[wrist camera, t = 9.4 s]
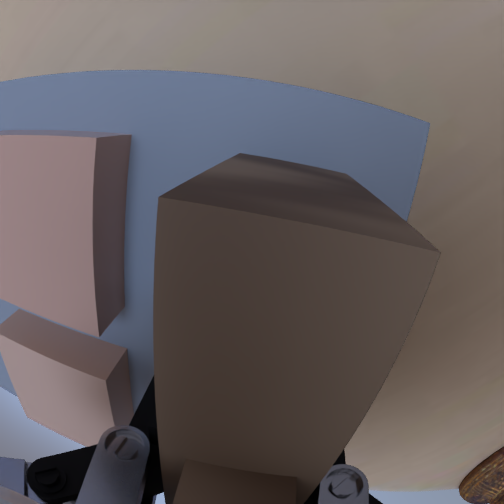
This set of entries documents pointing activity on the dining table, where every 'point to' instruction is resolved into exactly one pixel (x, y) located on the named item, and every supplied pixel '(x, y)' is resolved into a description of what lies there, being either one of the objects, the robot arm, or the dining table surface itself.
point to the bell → (485, 481)
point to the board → (207, 155)
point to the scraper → (274, 325)
